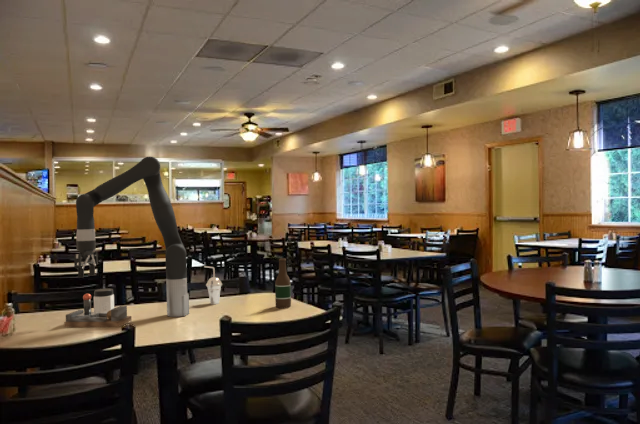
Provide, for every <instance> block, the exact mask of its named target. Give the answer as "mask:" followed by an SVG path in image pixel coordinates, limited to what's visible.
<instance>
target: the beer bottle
mask: <svg viewBox="0 0 640 424" xmlns="http://www.w3.org/2000/svg"><path fill="white" fill-rule="evenodd" d="M291 284H292V283H291V279H290V277H289V275H288V272H287V258H285V257H283V258H278V273H277V277H276V279H275V283H274V286H275V287H274V288H275V289H274V290H275V292H274V295H275V297H274V298H275V301H274V302H275V307H276V308H277V307H278V309H287V308H290V307H291V306H292V290H291V289H292V287H291Z"/></svg>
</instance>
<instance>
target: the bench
mask: <svg viewBox="0 0 640 424" xmlns="http://www.w3.org/2000/svg"><path fill="white" fill-rule="evenodd" d="M82 313H84V309H78V310H76V311H75V310H74V311H73V312H69V313H67V314H65V322H64V323H63V324H64V327H65V328H119V327H121V326H123V325H126V324H128V323H129V322H132V316H131V315H128V306H127V305H120V306H119V305H118V306H117V307H114V309H111V319H109V318H107V313H99V317H77V315H80V314H82Z"/></svg>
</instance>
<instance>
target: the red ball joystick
mask: <svg viewBox="0 0 640 424" xmlns="http://www.w3.org/2000/svg"><path fill="white" fill-rule="evenodd" d="M82 299H83V310H84V313H82V314H80V315H77V317H99V313H98V312H94V311H92V300H91V299H92V295H91V294H90V293H85V294H83V296H82Z"/></svg>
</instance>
